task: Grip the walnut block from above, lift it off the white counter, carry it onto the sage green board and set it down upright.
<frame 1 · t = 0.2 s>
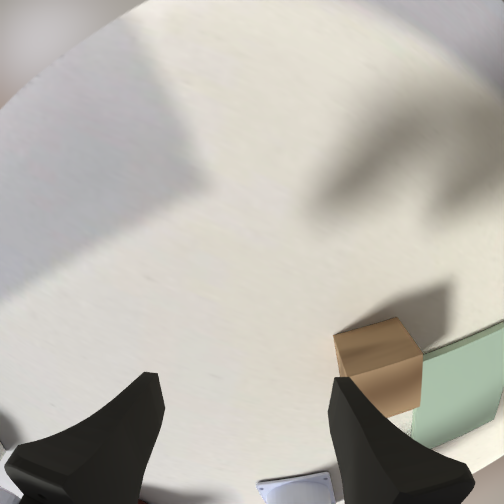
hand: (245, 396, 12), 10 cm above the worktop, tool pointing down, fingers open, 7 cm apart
walnut block: (368, 352, 23), on the worktop
sage board: (461, 392, 24), on the worktop
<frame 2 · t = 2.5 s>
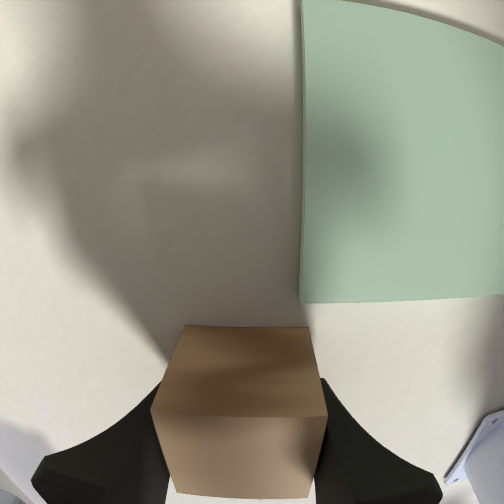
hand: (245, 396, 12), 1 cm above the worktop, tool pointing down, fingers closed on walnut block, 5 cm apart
walnut block: (246, 375, 14), on the worktop, touching gripper
sage board: (469, 162, 10), on the worktop
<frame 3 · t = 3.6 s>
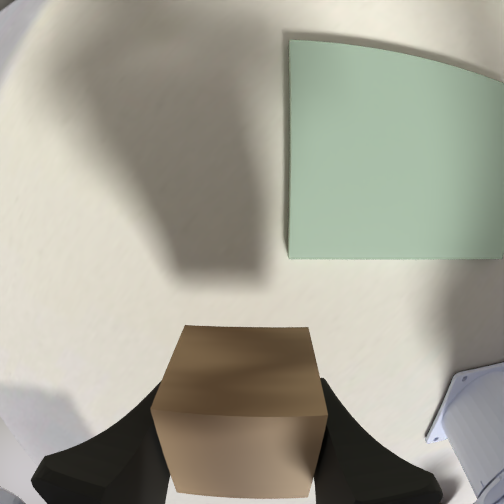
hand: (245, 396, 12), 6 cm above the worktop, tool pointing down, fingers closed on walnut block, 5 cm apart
walnut block: (246, 375, 14), point 5 cm above the worktop, touching gripper
sage board: (417, 156, 15), on the worktop
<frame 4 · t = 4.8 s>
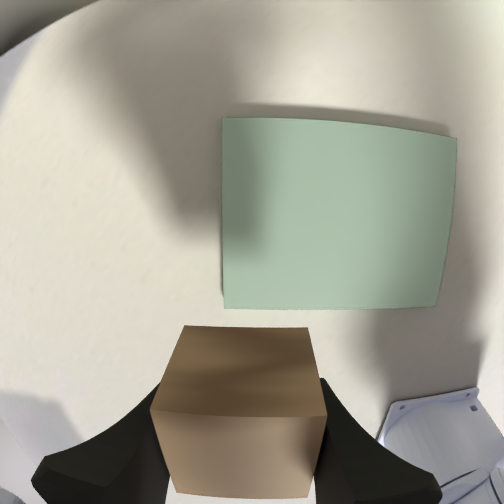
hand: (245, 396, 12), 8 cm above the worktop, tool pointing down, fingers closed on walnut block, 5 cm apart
walnut block: (246, 375, 14), point 7 cm above the worktop, touching gripper
sage board: (344, 218, 18), on the worktop
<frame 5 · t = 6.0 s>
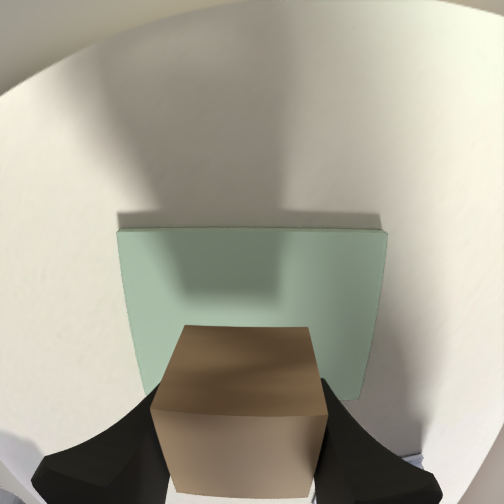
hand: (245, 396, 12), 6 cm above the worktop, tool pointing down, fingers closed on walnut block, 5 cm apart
walnut block: (246, 374, 14), point 5 cm above the worktop, touching gripper
sage board: (251, 323, 18), on the worktop
when the fingers open (3 cm above the worktop, at t = 7.1 s): walnut block stays where it is, resting on sage board.
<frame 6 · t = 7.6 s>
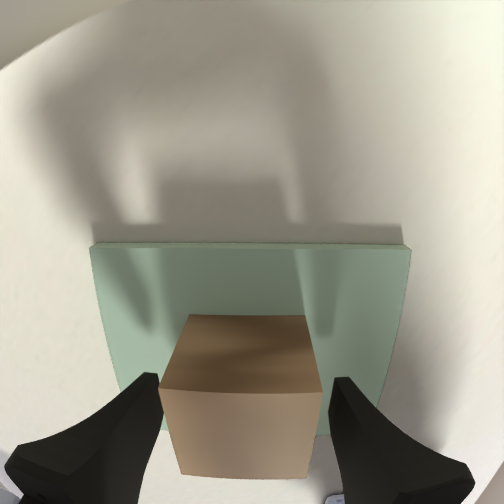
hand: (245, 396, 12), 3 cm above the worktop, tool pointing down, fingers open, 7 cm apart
walnut block: (247, 362, 14), point 1 cm above the worktop, touching sage board
sage board: (248, 352, 15), on the worktop
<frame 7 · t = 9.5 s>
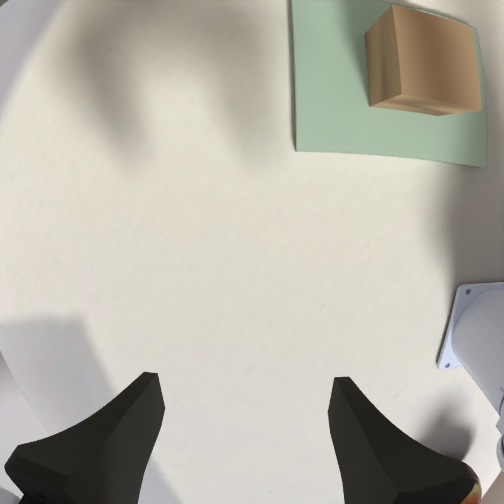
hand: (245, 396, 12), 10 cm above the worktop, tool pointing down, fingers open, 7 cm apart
walnut block: (403, 74, 16), point 1 cm above the worktop, touching sage board
vase: (429, 474, 30), on the worktop
sage board: (398, 77, 17), on the worktop
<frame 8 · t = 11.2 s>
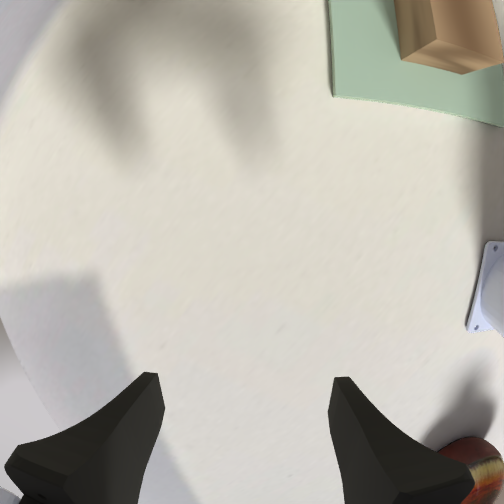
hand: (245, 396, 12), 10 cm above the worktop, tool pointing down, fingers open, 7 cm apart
walnut block: (429, 35, 16), point 1 cm above the worktop, touching sage board
vase: (450, 455, 29), on the worktop
sage board: (424, 38, 16), on the worktop
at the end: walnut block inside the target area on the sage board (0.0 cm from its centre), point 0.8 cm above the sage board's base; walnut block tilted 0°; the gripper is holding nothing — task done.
